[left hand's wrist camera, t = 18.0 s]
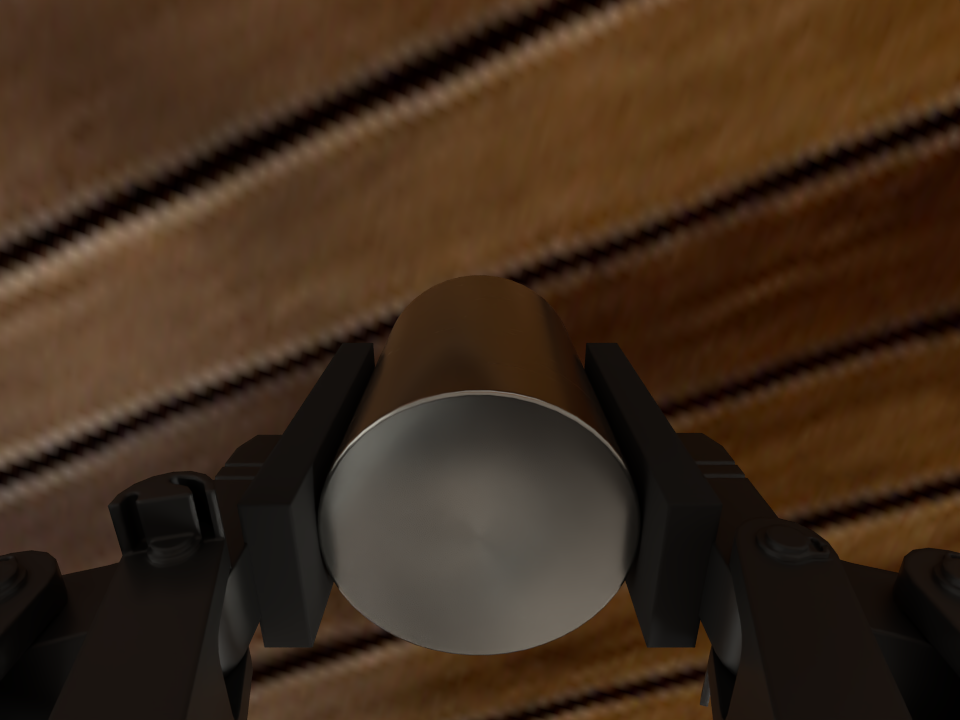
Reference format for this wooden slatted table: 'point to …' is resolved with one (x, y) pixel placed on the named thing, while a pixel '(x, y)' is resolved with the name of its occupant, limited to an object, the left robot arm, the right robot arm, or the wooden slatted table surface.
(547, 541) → the canister
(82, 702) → the left robot arm
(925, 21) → the wooden slatted table surface
